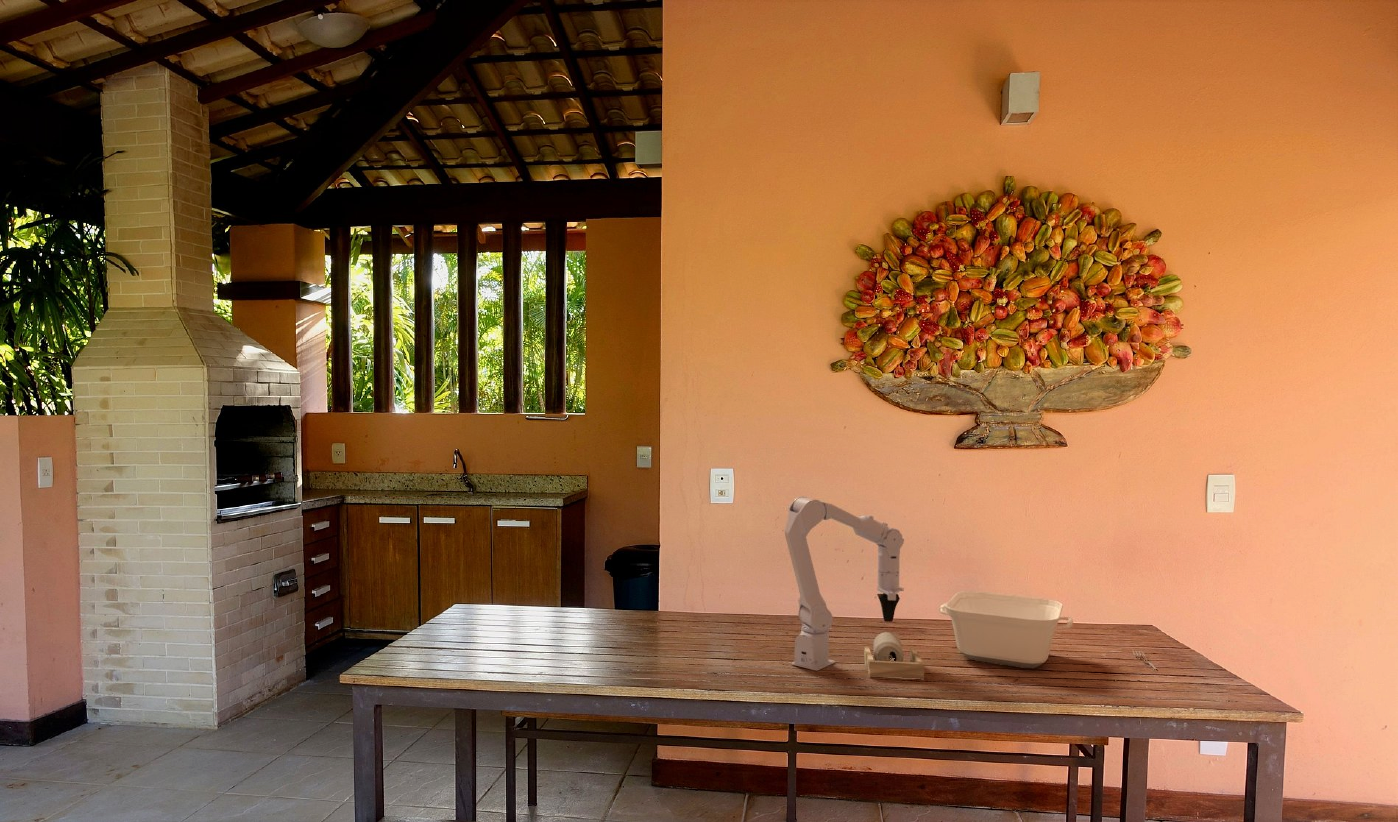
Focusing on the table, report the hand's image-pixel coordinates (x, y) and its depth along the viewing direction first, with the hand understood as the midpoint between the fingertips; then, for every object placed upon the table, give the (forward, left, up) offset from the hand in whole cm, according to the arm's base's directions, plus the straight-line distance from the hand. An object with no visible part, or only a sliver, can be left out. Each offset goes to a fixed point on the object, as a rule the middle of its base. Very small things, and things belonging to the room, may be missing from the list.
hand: (888, 621), depth 213 cm
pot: (+23, -24, -10) cm, 34 cm away
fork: (+40, -57, -11) cm, 70 cm away
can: (0, 0, -6) cm, 6 cm away
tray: (-8, -6, -10) cm, 14 cm away
